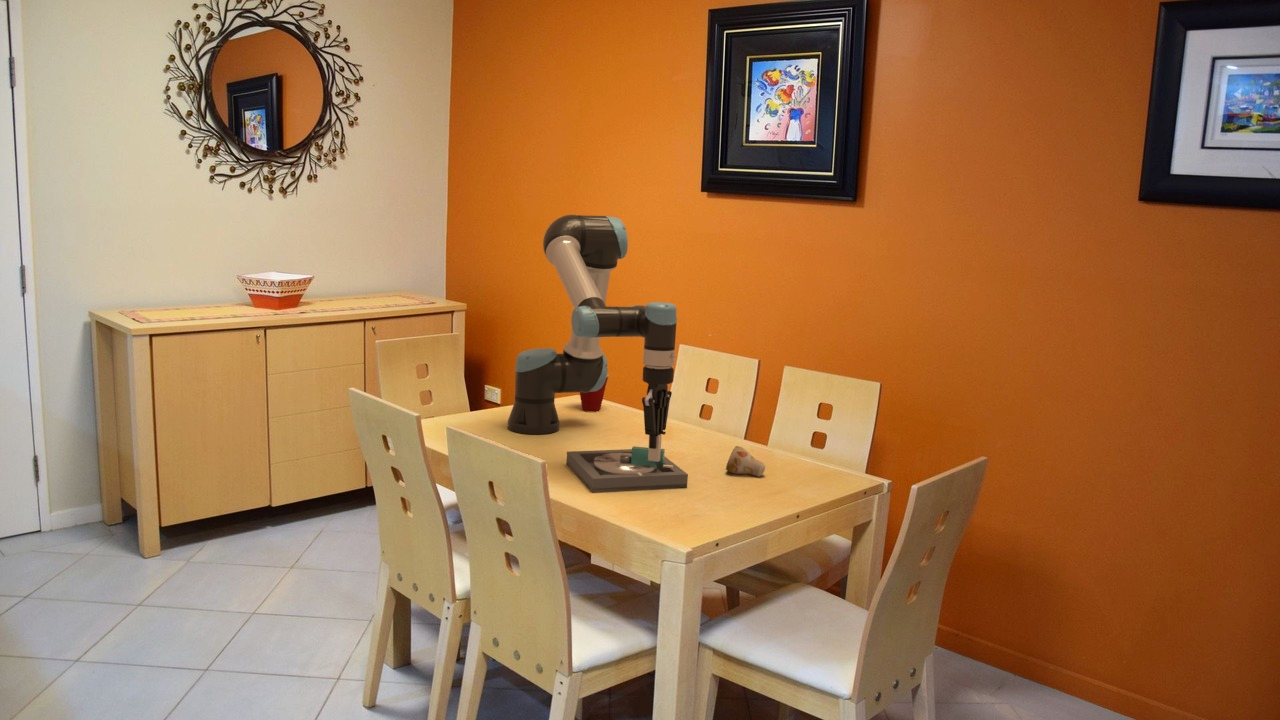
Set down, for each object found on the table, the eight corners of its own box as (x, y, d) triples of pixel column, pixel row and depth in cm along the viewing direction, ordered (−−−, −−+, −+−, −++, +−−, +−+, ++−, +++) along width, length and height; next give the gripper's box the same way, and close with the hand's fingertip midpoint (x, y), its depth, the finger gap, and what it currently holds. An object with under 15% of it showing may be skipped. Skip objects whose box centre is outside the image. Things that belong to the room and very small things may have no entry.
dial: (587, 476, 237) (588, 451, 235) (600, 459, 252) (601, 436, 251) (658, 483, 234) (660, 458, 233) (666, 466, 250) (668, 442, 249)
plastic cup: (601, 405, 321) (602, 370, 319) (612, 413, 311) (614, 376, 309) (569, 406, 317) (571, 370, 315) (580, 414, 307) (581, 377, 305)
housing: (566, 464, 251) (567, 450, 250) (653, 460, 259) (654, 446, 258) (592, 492, 228) (593, 477, 228) (687, 487, 236) (688, 472, 236)
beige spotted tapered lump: (765, 481, 246) (747, 448, 244) (732, 491, 251) (715, 458, 249) (772, 468, 252) (756, 435, 251) (740, 477, 257) (724, 445, 255)
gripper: (662, 371, 229) (657, 468, 232) (683, 364, 240) (678, 457, 244) (633, 368, 232) (629, 463, 235) (655, 361, 243) (651, 452, 247)
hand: (654, 460), depth 240 cm, fingers closed
